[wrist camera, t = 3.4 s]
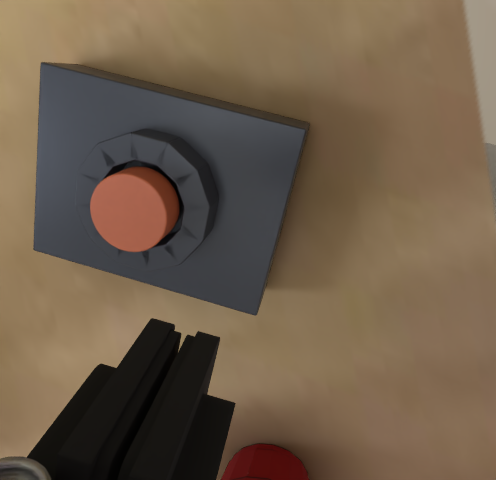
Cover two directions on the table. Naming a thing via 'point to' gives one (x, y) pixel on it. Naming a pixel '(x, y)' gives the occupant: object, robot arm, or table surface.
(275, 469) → the plastic cup
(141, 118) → the button base
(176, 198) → the push button
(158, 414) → the robot arm
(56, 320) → the table surface
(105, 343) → the table surface
